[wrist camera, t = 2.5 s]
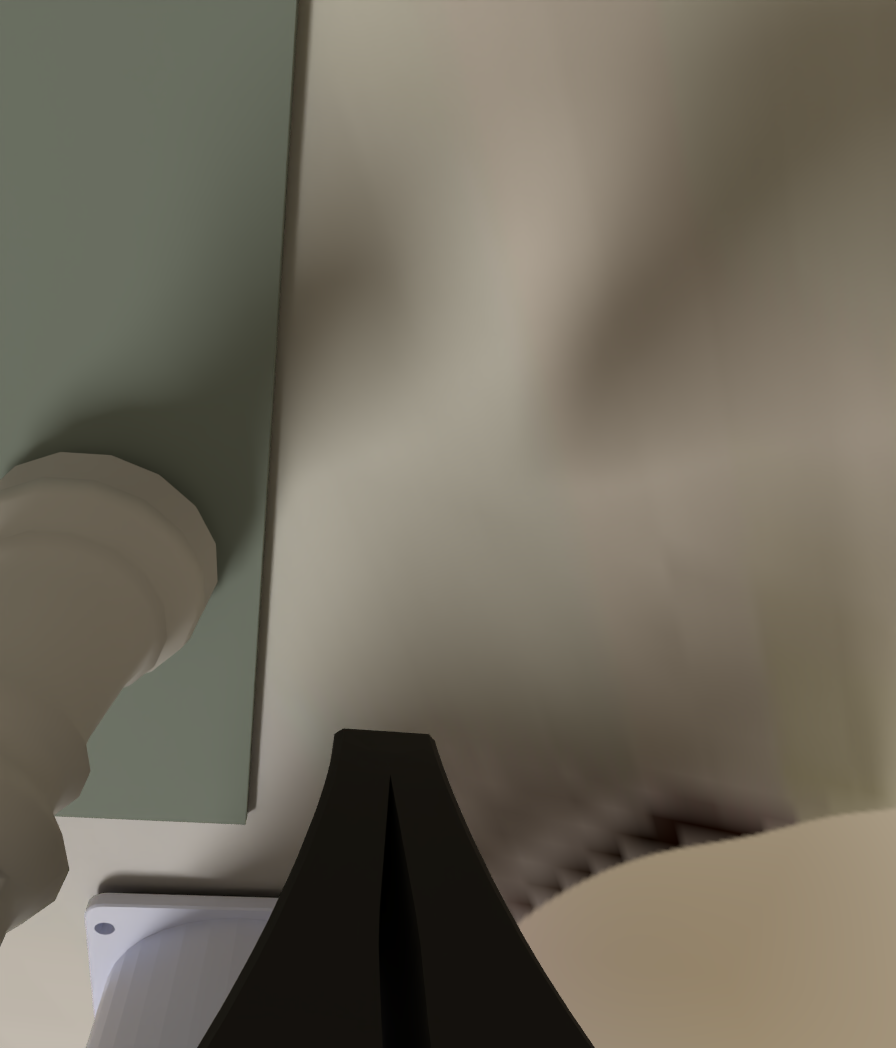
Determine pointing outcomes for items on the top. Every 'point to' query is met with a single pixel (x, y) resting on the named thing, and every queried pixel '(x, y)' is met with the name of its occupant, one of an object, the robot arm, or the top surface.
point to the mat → (153, 327)
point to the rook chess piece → (80, 636)
